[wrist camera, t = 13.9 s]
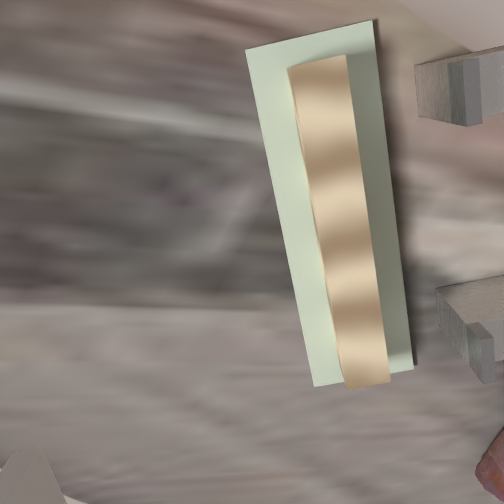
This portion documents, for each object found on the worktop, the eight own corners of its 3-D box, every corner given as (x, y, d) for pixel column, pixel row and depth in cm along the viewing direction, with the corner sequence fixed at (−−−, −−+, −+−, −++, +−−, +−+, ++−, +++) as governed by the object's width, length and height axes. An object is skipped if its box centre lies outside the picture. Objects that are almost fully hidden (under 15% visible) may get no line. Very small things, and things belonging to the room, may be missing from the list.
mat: (245, 50, 38) (245, 49, 37) (370, 20, 37) (372, 20, 37) (313, 383, 49) (314, 387, 48) (411, 365, 48) (413, 369, 47)
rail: (286, 68, 38) (290, 67, 34) (336, 56, 38) (345, 54, 34) (339, 365, 47) (347, 389, 43) (380, 357, 47) (391, 382, 43)
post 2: (435, 288, 45) (480, 340, 36) (510, 274, 44) (575, 322, 36) (438, 325, 46) (483, 384, 37) (512, 311, 46) (575, 367, 37)
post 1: (413, 65, 38) (462, 61, 29) (502, 45, 38) (579, 35, 29) (418, 116, 40) (466, 126, 31) (504, 97, 39) (578, 102, 30)
